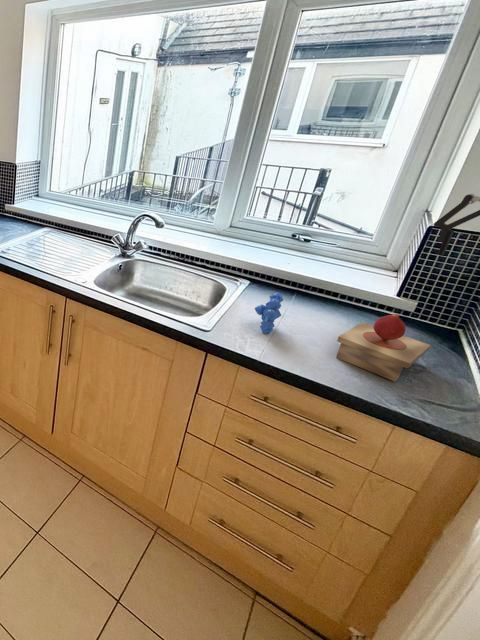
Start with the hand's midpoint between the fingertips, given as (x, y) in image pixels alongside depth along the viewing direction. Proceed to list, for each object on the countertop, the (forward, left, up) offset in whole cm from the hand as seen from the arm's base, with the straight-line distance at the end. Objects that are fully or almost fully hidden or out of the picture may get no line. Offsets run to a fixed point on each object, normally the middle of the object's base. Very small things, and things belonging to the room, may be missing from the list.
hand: (478, 262), depth 107 cm
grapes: (+31, +29, -27) cm, 50 cm away
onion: (+7, +20, -21) cm, 30 cm away
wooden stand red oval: (+7, +20, -27) cm, 34 cm away
